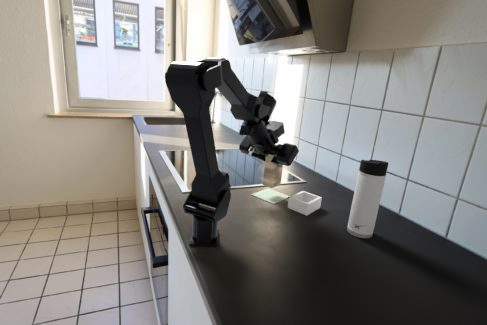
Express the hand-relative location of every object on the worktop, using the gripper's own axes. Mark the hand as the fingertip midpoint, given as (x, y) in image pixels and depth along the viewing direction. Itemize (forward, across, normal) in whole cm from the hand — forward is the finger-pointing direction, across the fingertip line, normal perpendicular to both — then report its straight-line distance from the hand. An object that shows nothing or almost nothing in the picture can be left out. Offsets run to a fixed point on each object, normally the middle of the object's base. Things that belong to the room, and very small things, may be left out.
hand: (276, 164), depth 92 cm
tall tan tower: (+4, 0, +6) cm, 7 cm away
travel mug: (+6, -30, +9) cm, 32 cm away
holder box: (+7, -12, +8) cm, 16 cm away
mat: (+7, 0, +8) cm, 11 cm away
